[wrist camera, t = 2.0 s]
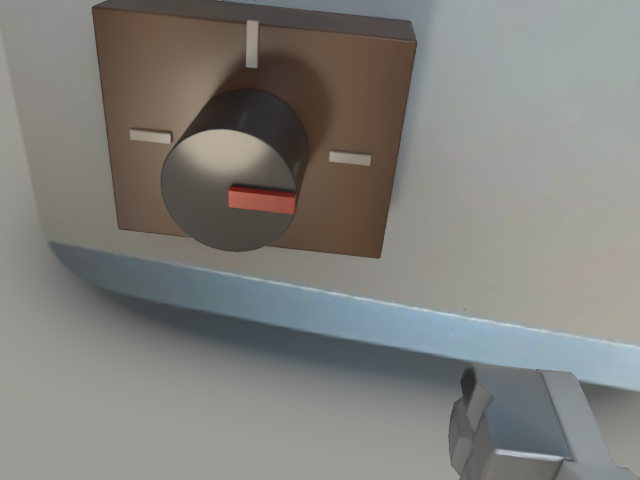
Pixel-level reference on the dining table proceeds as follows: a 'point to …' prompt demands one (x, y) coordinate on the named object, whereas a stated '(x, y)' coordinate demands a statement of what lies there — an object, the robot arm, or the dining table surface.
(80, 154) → the dining table surface
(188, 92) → the dial panel
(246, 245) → the dial
